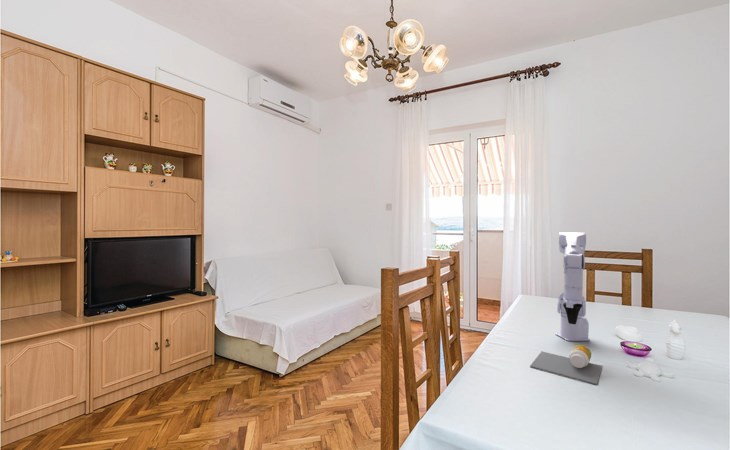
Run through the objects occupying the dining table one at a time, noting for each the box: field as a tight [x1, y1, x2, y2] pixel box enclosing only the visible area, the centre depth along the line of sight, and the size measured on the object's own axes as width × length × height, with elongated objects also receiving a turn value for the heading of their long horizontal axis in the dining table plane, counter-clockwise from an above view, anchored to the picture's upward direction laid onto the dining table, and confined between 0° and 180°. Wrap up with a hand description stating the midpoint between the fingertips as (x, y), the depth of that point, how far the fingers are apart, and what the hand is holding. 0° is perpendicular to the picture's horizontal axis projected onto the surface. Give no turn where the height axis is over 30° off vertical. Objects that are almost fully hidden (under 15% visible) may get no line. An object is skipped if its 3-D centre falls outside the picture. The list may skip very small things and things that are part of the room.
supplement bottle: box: [569, 344, 592, 368], centre depth 110 cm, size 5×5×10 cm
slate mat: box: [529, 350, 603, 386], centre depth 109 cm, size 16×18×1 cm
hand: (572, 323), depth 121 cm, fingers closed
